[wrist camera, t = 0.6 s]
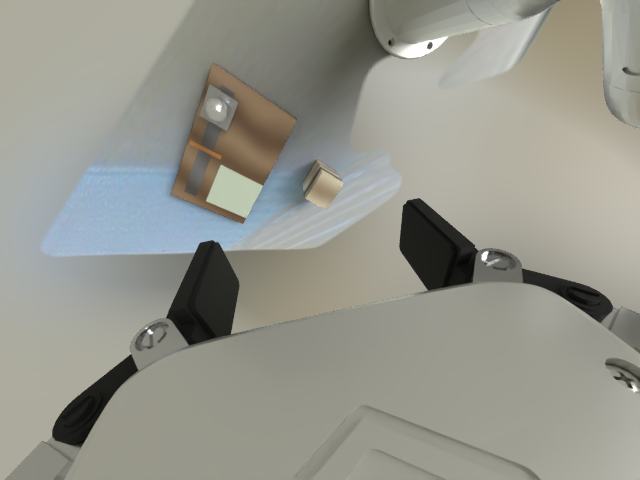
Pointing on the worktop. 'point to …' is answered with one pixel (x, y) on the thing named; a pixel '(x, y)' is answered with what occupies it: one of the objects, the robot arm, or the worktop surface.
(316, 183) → the beige block
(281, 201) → the worktop surface
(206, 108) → the silver slider knob
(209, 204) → the board
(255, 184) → the pad
